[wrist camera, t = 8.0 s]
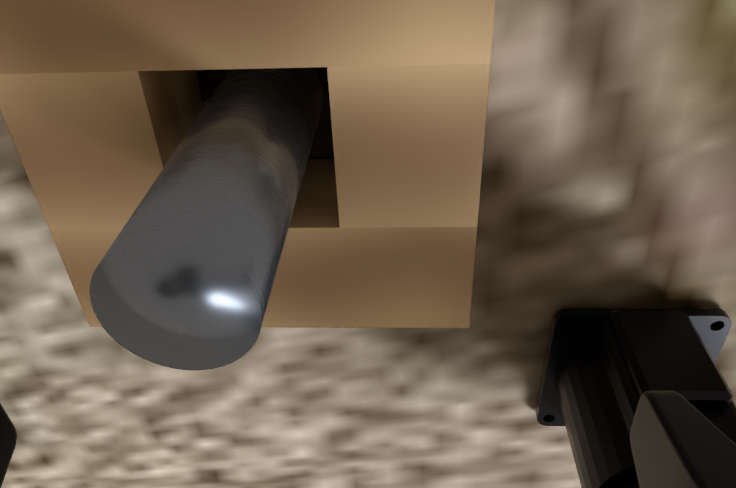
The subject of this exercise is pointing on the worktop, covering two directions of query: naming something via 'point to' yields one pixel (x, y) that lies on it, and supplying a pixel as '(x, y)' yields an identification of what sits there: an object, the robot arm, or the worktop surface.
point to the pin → (212, 225)
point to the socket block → (321, 177)
